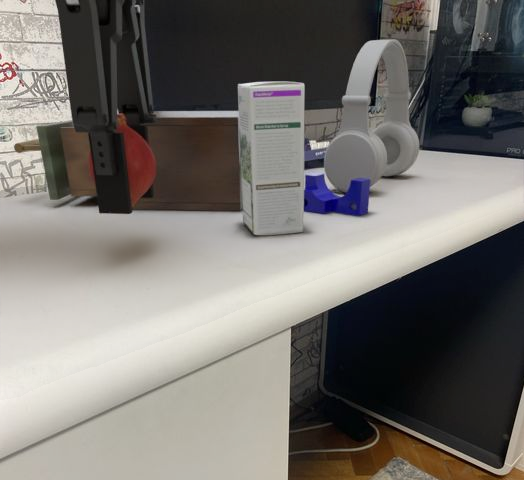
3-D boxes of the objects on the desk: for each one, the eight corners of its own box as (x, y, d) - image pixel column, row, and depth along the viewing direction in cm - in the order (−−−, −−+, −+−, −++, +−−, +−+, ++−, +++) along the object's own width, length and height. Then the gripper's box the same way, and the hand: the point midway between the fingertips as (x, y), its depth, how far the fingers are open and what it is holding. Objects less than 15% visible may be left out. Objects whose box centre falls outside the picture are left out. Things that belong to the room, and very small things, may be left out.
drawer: (15, 199, 70) (-2, 126, 66) (55, 183, 80) (43, 119, 76) (151, 201, 68) (143, 125, 64) (174, 184, 78) (169, 118, 74)
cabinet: (126, 209, 68) (114, 117, 63) (154, 190, 80) (147, 111, 75) (240, 211, 67) (237, 117, 62) (253, 191, 78) (251, 110, 73)
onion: (100, 217, 46) (85, 116, 42) (90, 203, 51) (77, 112, 47) (165, 211, 48) (157, 114, 45) (151, 198, 53) (143, 110, 49)
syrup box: (305, 232, 57) (309, 81, 50) (251, 236, 56) (248, 82, 49) (289, 220, 62) (291, 80, 55) (240, 224, 61) (235, 81, 54)
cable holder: (297, 209, 67) (298, 176, 65) (313, 204, 70) (314, 172, 68) (353, 218, 63) (355, 183, 61) (367, 212, 65) (370, 179, 63)
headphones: (369, 172, 92) (379, 44, 84) (417, 175, 88) (433, 41, 80) (320, 192, 77) (325, 37, 68) (375, 197, 73) (389, 34, 64)
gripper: (89, -174, 30) (135, 232, 41) (174, -87, 47) (191, 185, 57) (-37, -168, 31) (41, 230, 41) (91, -84, 47) (123, 184, 58)
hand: (128, 203), depth 49 cm, fingers closed on onion, 6 cm apart
